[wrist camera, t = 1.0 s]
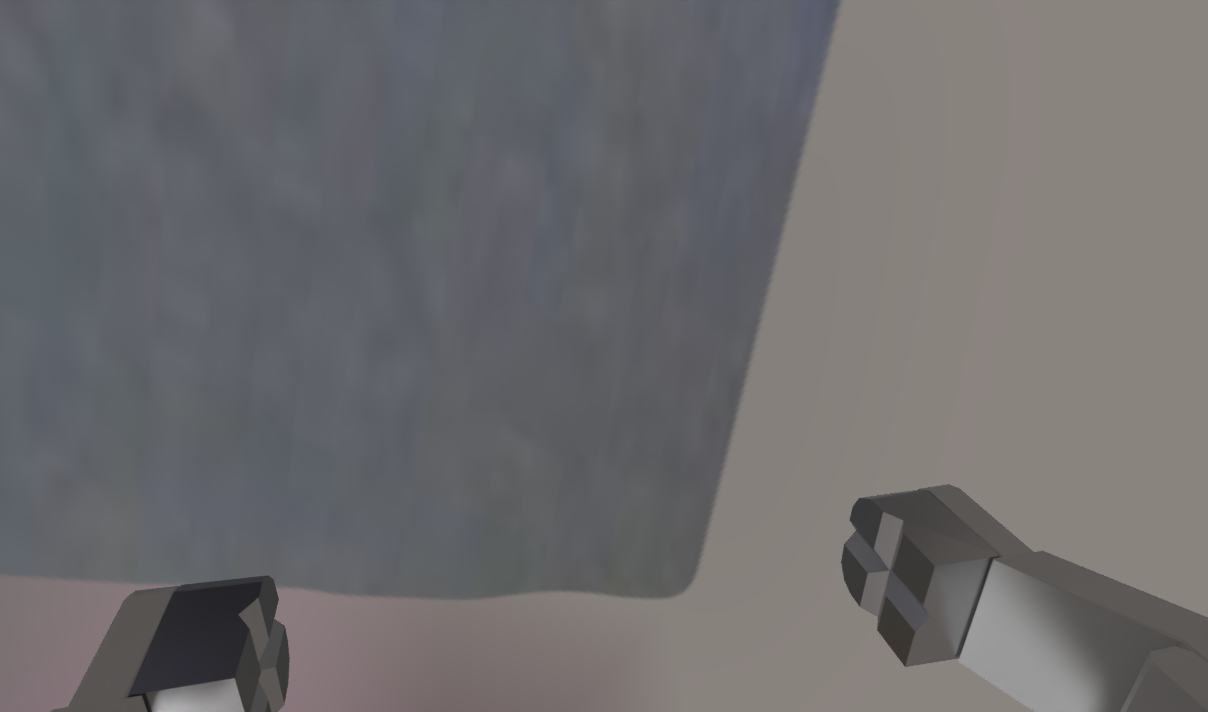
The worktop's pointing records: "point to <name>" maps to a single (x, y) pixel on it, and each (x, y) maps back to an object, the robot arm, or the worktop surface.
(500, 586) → the worktop surface
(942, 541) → the robot arm
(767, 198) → the worktop surface
